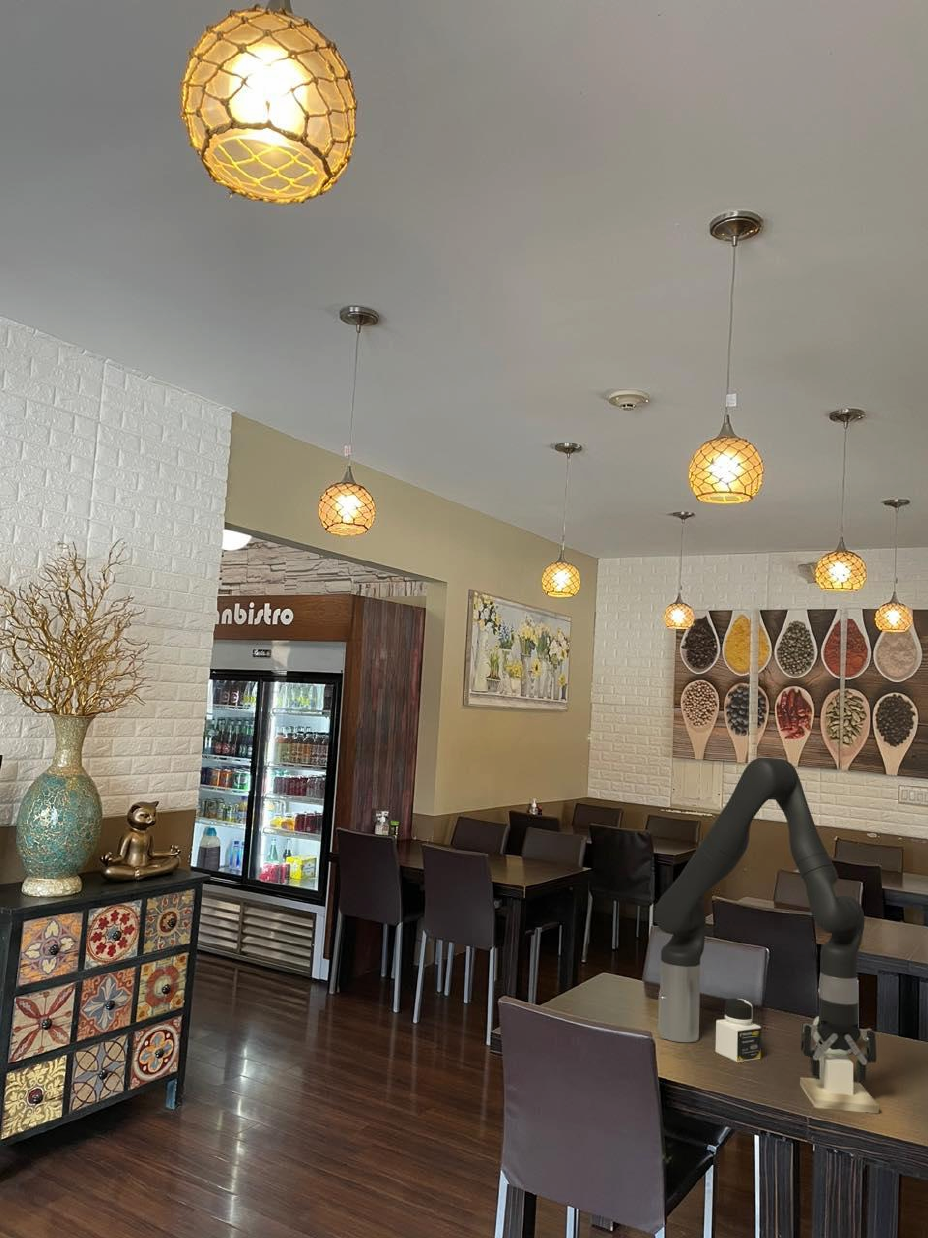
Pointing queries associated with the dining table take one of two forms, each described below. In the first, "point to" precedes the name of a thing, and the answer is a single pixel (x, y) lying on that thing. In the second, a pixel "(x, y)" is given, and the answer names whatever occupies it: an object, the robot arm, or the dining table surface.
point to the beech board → (839, 1097)
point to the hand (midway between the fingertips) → (838, 1080)
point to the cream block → (836, 1074)
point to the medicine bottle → (738, 1032)
